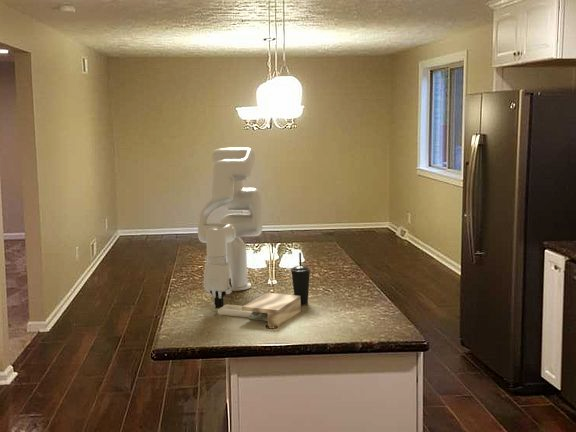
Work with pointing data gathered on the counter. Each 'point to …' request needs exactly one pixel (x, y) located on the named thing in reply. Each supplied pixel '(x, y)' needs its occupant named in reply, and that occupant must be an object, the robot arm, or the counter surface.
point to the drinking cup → (301, 281)
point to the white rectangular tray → (235, 311)
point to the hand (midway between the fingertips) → (219, 307)
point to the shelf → (274, 307)
